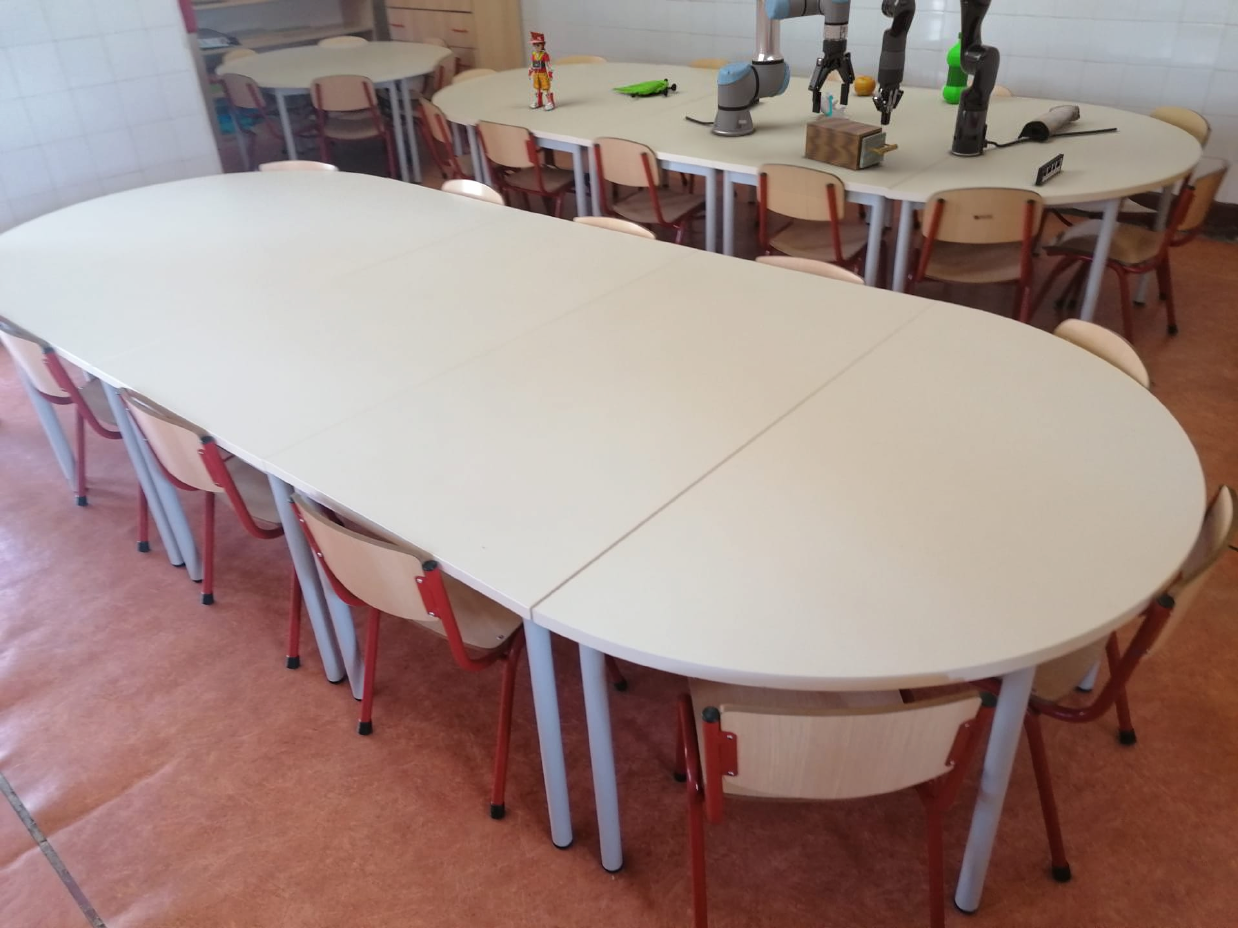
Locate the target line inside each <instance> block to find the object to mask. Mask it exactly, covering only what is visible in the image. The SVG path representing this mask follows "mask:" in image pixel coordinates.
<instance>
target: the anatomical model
mask: <svg viewBox="0 0 1238 928" xmlns="http://www.w3.org/2000/svg"><path fill="white" fill-rule="evenodd" d="M833 100H834V96H833V94H831V93H830V92H829V91H826V92H825V94H824V96H821V108H820V113H822V114H825V115H826V117H829V116H831V117H836V118H841V119H845V120H850V119H851V117H850V116H846V115H844V111H845V110H846V109H847V107H846V105H843V106H841V107H839V108H836V105H837V103H838V102H839V100H838V99H836V100H834V101H833Z"/></svg>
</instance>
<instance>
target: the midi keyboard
mask: <svg viewBox="0 0 1238 928" xmlns="http://www.w3.org/2000/svg"><path fill="white" fill-rule="evenodd" d="M1064 157H1065V153H1059V154H1058V155H1056V156H1055V157H1052V159H1051V160H1049V161H1047V162H1045V164H1042V165H1041V166H1039V167H1038V169H1037V175H1036V179H1035V186H1040V185H1042V183H1044V182H1045V181H1047V180H1048V179H1049V178H1051V177H1052V176H1054V175H1055V174H1056V173H1058V172H1060V171H1061V170H1062V165H1063V161H1064Z"/></svg>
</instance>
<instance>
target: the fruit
mask: <svg viewBox="0 0 1238 928" xmlns="http://www.w3.org/2000/svg"><path fill="white" fill-rule="evenodd" d="M853 84H854V85H853V89H854V92H855V93H856V94H857V95H859V96H869V95H871V94H873V92H875V90H876V87H877V83H876V80H875V79H874V78H873V77H872V76H870V75H864V76H860V77H858V78H856V79H855V81H854V83H853Z"/></svg>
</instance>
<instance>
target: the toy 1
mask: <svg viewBox="0 0 1238 928" xmlns="http://www.w3.org/2000/svg"><path fill="white" fill-rule="evenodd" d="M529 33H530V35H531V36H528V37H527V38H528V39H529V40H528V41H527V43H529V44H530V43H531V44H532V48H533V50H534V51H533V52H532V55H531V58H530V59H531V63H530V66H528V74H527V75H528V76H527V77H528V79H529V80H531V75H532V74H533V84H532V85H533V86H532V87H533V88H534V89H535V90H536V92H534V95H535V97H536V100H535V101H533V102H531V105H530V108H531V109H535V108H538V107H542V106H544V101H543V100H544V99H543V95H544V92H546V94H545V97H546V99H547V103H546V104H545V106H544V110H546V111H549V110H553V109H554V107H555V106H556V105H555V99H554V92H551V91H550V90H551V86H552V84H551V82H552V81H553V80H554V77H553V73H554V71H555V70H554V69H552V68H551V63H550V61H551V59H550V58H551V57H550V54H549V53H548V52H547V50H546V48H545V46H546V44H547V41H545V35H544V33H543V32H542V33H539V32H535V31H529Z"/></svg>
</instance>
